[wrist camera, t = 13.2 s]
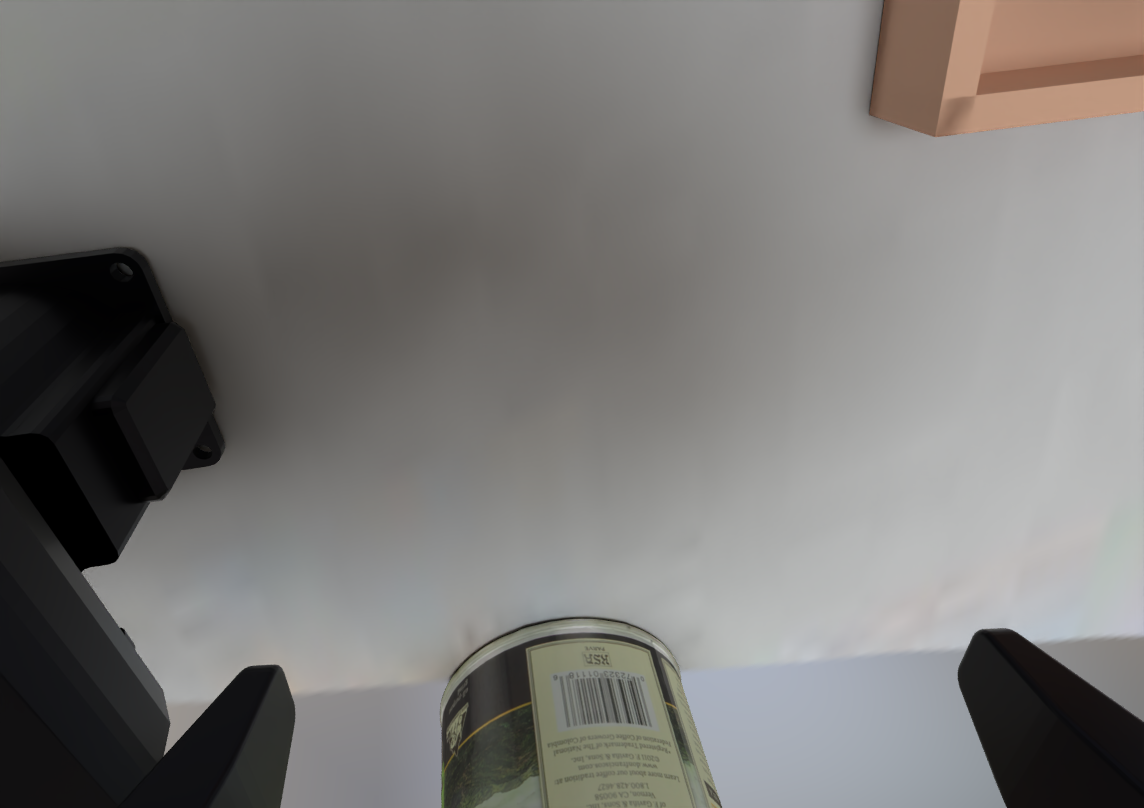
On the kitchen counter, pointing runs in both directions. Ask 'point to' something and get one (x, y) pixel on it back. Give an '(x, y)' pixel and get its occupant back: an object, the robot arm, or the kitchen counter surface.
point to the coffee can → (572, 723)
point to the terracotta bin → (1007, 63)
